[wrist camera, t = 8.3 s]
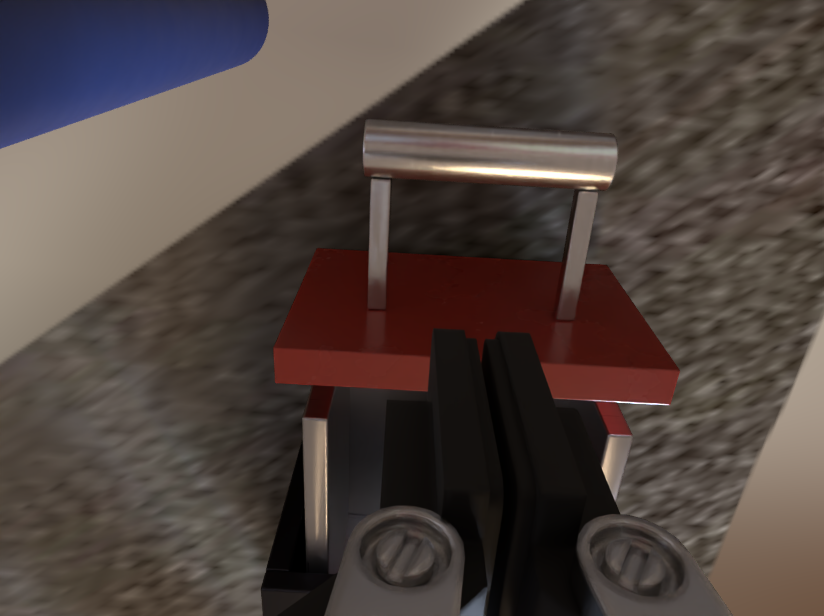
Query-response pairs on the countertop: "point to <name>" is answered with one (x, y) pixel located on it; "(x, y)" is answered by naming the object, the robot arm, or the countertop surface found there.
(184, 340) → the countertop surface
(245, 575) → the countertop surface
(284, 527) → the black drawer housing
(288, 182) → the countertop surface
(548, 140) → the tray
